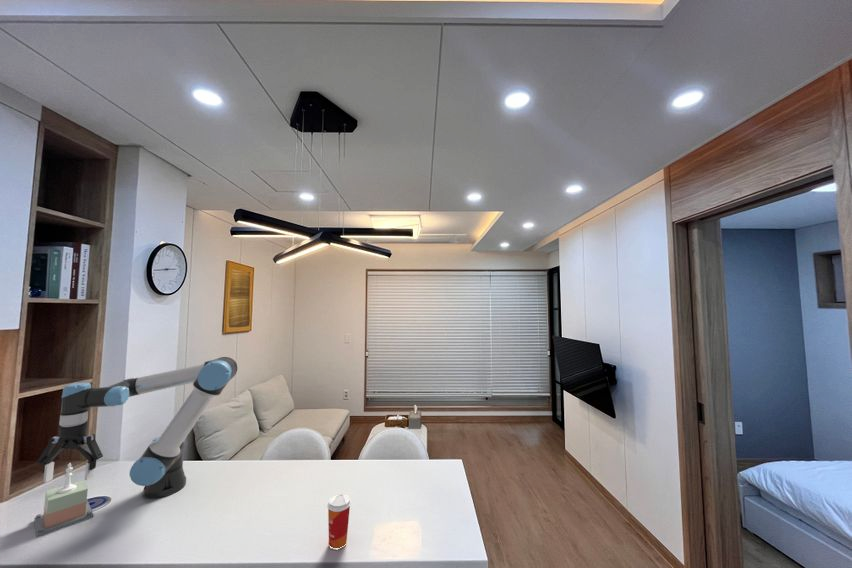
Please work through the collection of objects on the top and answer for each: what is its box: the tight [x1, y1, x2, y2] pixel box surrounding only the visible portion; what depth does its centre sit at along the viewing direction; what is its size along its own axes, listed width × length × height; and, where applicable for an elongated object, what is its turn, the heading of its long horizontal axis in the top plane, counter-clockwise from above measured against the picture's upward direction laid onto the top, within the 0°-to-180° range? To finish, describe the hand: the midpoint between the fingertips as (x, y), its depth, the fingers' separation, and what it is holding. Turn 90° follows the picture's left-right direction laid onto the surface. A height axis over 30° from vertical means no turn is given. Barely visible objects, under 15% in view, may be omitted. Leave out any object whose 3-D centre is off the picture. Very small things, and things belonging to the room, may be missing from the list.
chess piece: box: [58, 462, 76, 493], centre depth 124 cm, size 5×5×10 cm
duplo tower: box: [33, 479, 94, 538], centre depth 123 cm, size 14×14×11 cm
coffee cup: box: [326, 494, 352, 548], centre depth 113 cm, size 8×8×15 cm
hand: (68, 479), depth 124 cm, fingers open, 13 cm apart
